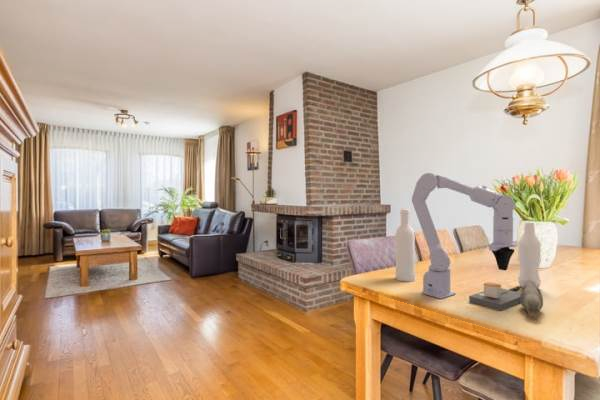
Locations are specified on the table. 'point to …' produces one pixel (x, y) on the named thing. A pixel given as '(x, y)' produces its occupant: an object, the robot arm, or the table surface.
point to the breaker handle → (492, 290)
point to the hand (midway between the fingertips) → (502, 269)
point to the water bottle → (529, 256)
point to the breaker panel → (500, 303)
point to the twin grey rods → (515, 288)
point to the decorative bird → (531, 299)
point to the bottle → (405, 249)
